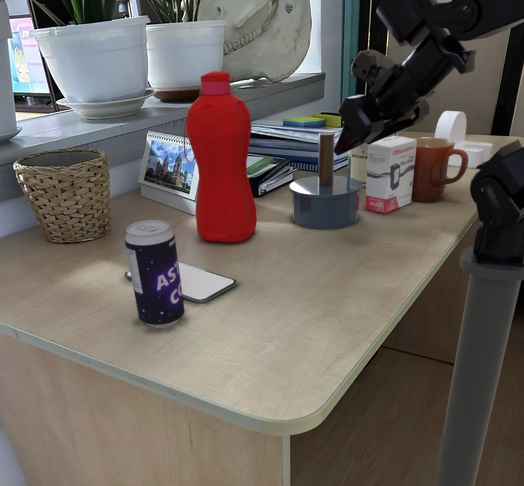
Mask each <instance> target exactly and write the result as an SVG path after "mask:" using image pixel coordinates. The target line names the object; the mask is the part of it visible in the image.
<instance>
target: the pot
mask: <svg viewBox="0 0 524 486" xmlns="http://www.w3.org/2000/svg"><path fill="white" fill-rule="evenodd" d="M291 198H292V199H291V204H292V205H291V206H292V207H291V208H292V214H291V215H292V220H293V222H294V223H295V224H297V225H298V226H300V227H304V228H307V229H316V230H332V229H340V228H346V227H348V226H351V225H353V224H355V223H356V222H357V221H358V218H359V207H360V192H358V193H356V194H354V195H350V196H346V197H340V198H329V199H318V198H308V197H302V196H298V195H296V194H294V193H292V192H291Z"/></svg>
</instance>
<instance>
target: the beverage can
mask: <svg viewBox="0 0 524 486" xmlns="http://www.w3.org/2000/svg"><path fill="white" fill-rule="evenodd" d="M125 231H126V235H125V238H124V245H125V251H126V255H127V261H128V266H129V271H130V273H131V278H132V280H131V282H132V288H133V293H134V299H135V305H136V309H137V314H138V319H139V320H140V321H141V322H143V324H146V325H147V326H149V327H151V328H156V329H163V328H169V327H171V326H174V325H175V324H177V323H178V322H179V321H180V320H181V318H182V317H183V316H184V315H185V312H186V310H185V309H186V308H185V304H184V303H185V302H184V298H183V294H182V287H181V279H180V272H179V264H178V262H179V259H178V251H177V242H176V237H175V236H176V235H175V234H174V232H173V230H172V229H171V224H170V223H169V222H167V221H165V220H160V219H148V220H142V221H137V222H133V223H131V224H129V225H128V226H127V227H126V229H125Z"/></svg>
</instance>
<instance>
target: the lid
mask: <svg viewBox="0 0 524 486" xmlns="http://www.w3.org/2000/svg"><path fill="white" fill-rule="evenodd" d="M334 148H335V132H332V131H322V132H319V133H318V161H317V163H318V167H317V171H318V173H317V174H318V175H313V176H306V177H301V178H299V179H296V180H294V181H292V182H291V183H290V184H289V191H290V192H291V194H292V193H294V194H296V195H298V196H302V197H308V198H318V199H329V198H340V197H346V196H350V195H354V194H356V193H358V192H359V193H361V191H362V190H363V187H362V183H361V182H360V181H358V180H356V179H353V178H350V177H347V176H344V175H343V176H342V175H334V170H335V169H334V168H335V166H334V165H335V153H334Z"/></svg>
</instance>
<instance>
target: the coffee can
mask: <svg viewBox="0 0 524 486" xmlns="http://www.w3.org/2000/svg"><path fill="white" fill-rule="evenodd" d="M392 136H399V132H398V133H395V134H393V135H391V136H388V137H392ZM388 137H386V138H388ZM384 139H385V138H384ZM367 158H368V145H367V143H365V144H363V145H361V146H358V147H356V148H354V149H352V150H350V151H348V152H347V168H346V169H347V174H346V177H350V178H353V179H356V180H358V181H360V182H361V183H362V188H366V177H367Z"/></svg>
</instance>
